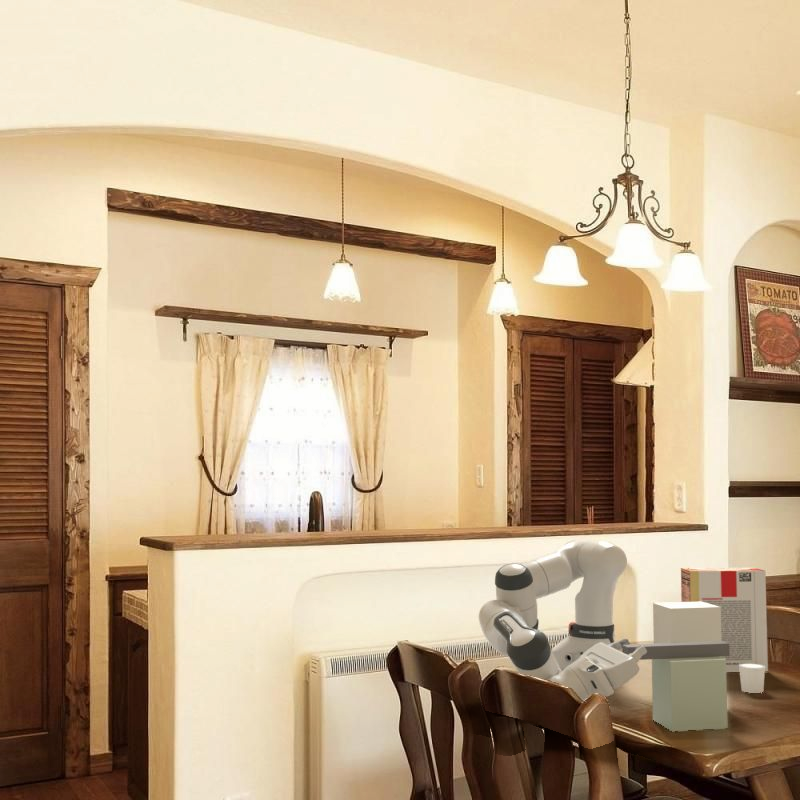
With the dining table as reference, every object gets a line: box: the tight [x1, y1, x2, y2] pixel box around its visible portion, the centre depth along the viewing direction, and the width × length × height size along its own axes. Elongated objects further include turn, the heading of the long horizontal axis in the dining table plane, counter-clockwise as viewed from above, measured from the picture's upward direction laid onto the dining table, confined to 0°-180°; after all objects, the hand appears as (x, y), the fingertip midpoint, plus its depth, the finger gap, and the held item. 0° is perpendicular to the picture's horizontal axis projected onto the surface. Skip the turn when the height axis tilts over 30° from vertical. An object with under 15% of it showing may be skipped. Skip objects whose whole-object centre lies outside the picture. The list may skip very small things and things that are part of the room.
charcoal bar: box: [621, 641, 730, 661], centre depth 228 cm, size 26×3×3 cm, turn 101°
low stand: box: [651, 657, 728, 733], centre depth 228 cm, size 14×10×16 cm
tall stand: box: [652, 601, 722, 658], centre depth 250 cm, size 14×10×25 cm
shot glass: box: [739, 663, 766, 694], centre depth 261 cm, size 7×7×7 cm
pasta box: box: [680, 567, 769, 672], centre depth 289 cm, size 23×8×30 cm, turn 93°
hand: (635, 644), depth 226 cm, fingers open, 8 cm apart
